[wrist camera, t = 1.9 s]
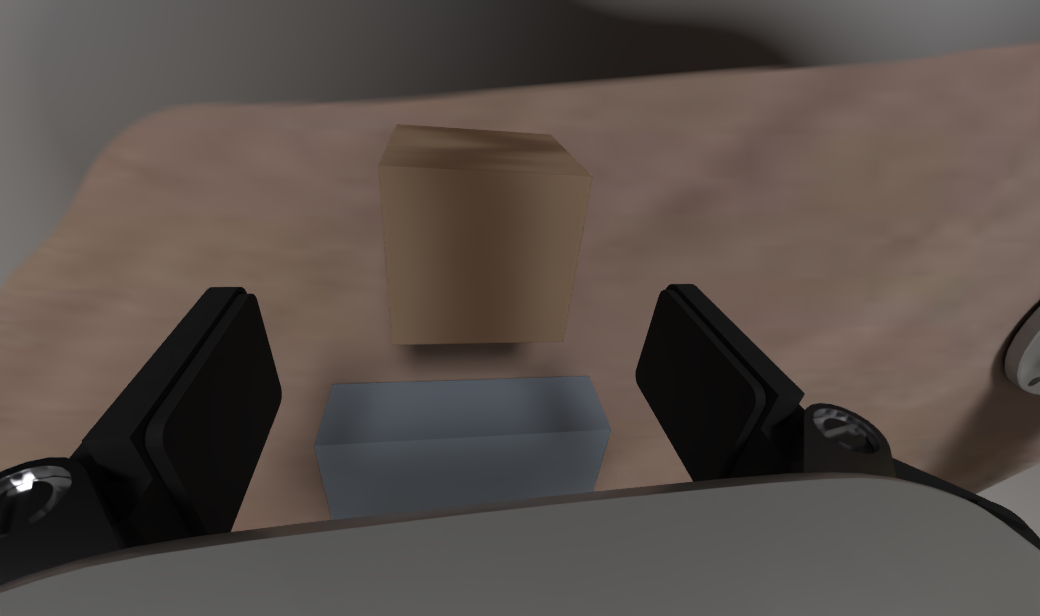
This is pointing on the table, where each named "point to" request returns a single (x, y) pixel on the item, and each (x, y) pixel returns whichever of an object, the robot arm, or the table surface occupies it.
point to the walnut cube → (480, 234)
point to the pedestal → (458, 443)
